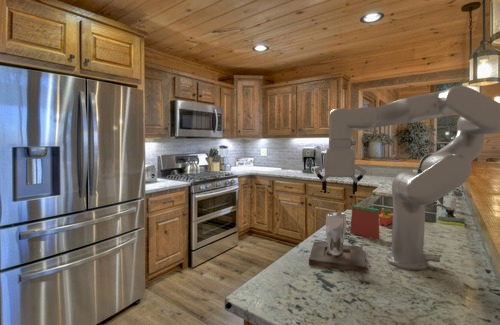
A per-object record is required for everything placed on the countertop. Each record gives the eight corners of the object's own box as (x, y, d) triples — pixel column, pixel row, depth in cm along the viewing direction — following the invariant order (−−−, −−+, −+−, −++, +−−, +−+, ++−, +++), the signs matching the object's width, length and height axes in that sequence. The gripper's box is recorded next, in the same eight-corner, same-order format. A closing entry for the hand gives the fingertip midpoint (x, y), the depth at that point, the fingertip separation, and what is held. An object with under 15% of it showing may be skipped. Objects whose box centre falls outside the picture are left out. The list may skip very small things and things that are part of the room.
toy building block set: (350, 233, 128) (350, 203, 127) (379, 219, 152) (380, 193, 151) (377, 239, 119) (378, 207, 118) (404, 223, 143) (405, 196, 142)
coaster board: (362, 252, 105) (362, 246, 105) (366, 273, 88) (366, 266, 88) (313, 246, 111) (314, 241, 110) (308, 264, 94) (308, 259, 93)
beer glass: (341, 260, 95) (342, 217, 94) (322, 255, 99) (322, 214, 98) (347, 254, 100) (348, 213, 99) (329, 249, 104) (330, 210, 103)
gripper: (365, 144, 97) (364, 192, 98) (315, 144, 103) (315, 190, 104) (367, 144, 90) (366, 196, 91) (313, 144, 96) (313, 193, 97)
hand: (339, 193), depth 98 cm, fingers open, 9 cm apart
